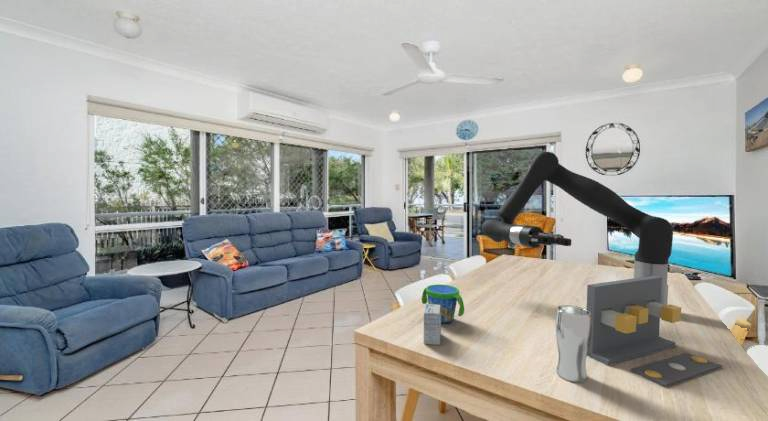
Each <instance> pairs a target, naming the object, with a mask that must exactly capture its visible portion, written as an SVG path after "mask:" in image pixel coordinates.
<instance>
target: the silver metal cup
mask: <svg viewBox="0 0 768 421" xmlns="http://www.w3.org/2000/svg"><path fill="white" fill-rule="evenodd" d="M556 309H557V310H556V316H555V317H556V318H555V337H556V343H557V350H558V362H557V366H556V371H555V372H556V374H557V375H558V377H560V378H561V379H563V380H565V381H568V382H572V383H577V384H578V383H579V384H580V383H585V382H587V380H588V374H587V367H586V366H587V365H586V364H587V363H586V361H587V357H588V356H587V353H588V349H589V345H590V340H591V330H592V326H591V312H590V311H589V310H587V308H585V307H581V306H577V305H571V304H570V305H568V304H565V305H564V304H563V305H558V306H557V308H556Z"/></svg>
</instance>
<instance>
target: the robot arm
mask: <svg viewBox="0 0 768 421" xmlns="http://www.w3.org/2000/svg"><path fill="white" fill-rule="evenodd" d="M559 162H560V161H559V158H558V156H557V155H556V154H555V153H554V152H552V151H551V152H550V151H543V152H540V153H538V154H536V155H534V157H533V158H532V161H531V162H530V168H529V169H528V171H527V172H526V174H525V176H524V178H523V179H522V180H521V182H520V183H519V184H518V186H517V187H516V188H515V189H514V190H513V191H512V192H511V194H509V196H508V197H507V199H506V200H505V201H504V202H503V204H502V205H501V207H499V208H498V211H497V214H498V216H499V217H500V219H501V220H498V219H493V218H492V219H487V220H485V221H484V222H483V223H482V225H481V232H482V234H483V235H484V236H486V237H487V238H489V239H490V240H491V241H494V242H496V243H502V242H506V243H508V244H509V243H510V244H514V245H515V244H516V245H517V246H522V247H527V248H532V249H537V248H540V247H541V246H542V245H545V246H563V247H571V246H572V239H571V238H567V237H565V236H564V235H562V234H555V233H550V232H547V231H544V230H543V229H542V228H541V227H540V226H537V225H536V226H535V225H527V224H514V222H515V220H516V218H517V217H518V216H519V215H520V213H521V212H522V211H523V209H524V208H525V207H526V205H527V204H528V202H529V201H530V199H531V198H532V196H533V195H534V194H535V192H536V191H537V190H538V188H540V186H541V185H542V184H543V183H544V182H546V181H547V182H548V183H550V184H553V185H554V186H556V187H557V188H560V189H562V190H563V191H564V192H565V193H567V194H568V195H569V196H571V197H572V198H574V199H575V200H577V201H578V202H580V203H581V204H583V205H585V206H586V207H587V208H589V209H591V210H593V211H594V212H597V213H598V214H600V215H602V216H604V217H606V218H609V219H611V220H613V221H614V222H617V223H618V224H620V226H622V227H624V228H625V229H626V230H628V231H629V232H631V233H632V234H633V235H635V236H636V237H637V238H638V239H639V240H638V248H637V250H636V251H635V254H634V264H633V265H634V267H633V268H634V269H633V278H640V277H648V276H658V277H662V288H661V304H665V305H668V298H669V284H668V272H669V259H670V258H671V255H672V249H673V241H674V240H673V238H674V229H673V225H672V224H671V222H670V221H669V220H668V219H666V218H663V217H660V216H654V215H650V214H648V213H646V212H643V211H642V210H640V209H637V208H636V207H634V206H632V205H630V204H629V203H628V202H627V201H625V199H623V197H621V196H619V194H618V193H616V192H615V191H613V189H610V188H609V187H608V186H605V185H604V184H603V183H601V182H599V181H596V180H595V179H592V178H589V177H587V176H584V175H582V174H579V173H577V172H573V171H571V170H570V169H568V168H566V167H565V166H563V165H562V164H560V163H559ZM562 190H561V191H562Z"/></svg>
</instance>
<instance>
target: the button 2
mask: <svg viewBox="0 0 768 421" xmlns="http://www.w3.org/2000/svg"><path fill="white" fill-rule="evenodd" d="M646 308H648V314H649V315H653V316H656V317H659V318H660V321H664V322H668V323H670V324H674V323H678V322H681V321H682V318H681V317H682V306H677V305H673V304H667V305H665V304H661V303H658V302H654V301H647V302H646Z"/></svg>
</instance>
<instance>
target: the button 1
mask: <svg viewBox="0 0 768 421" xmlns="http://www.w3.org/2000/svg"><path fill="white" fill-rule="evenodd" d="M636 318H637V317H636V316H633V315H630V314H627V313H624V314H622V313H619V312H615V311H612V310H609V309H603V310H601V323H603V324H606V325H608V326H611V327H614V328H615V330H617V331H620V332H623V333H625V334H627V333H631V332H636Z"/></svg>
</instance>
